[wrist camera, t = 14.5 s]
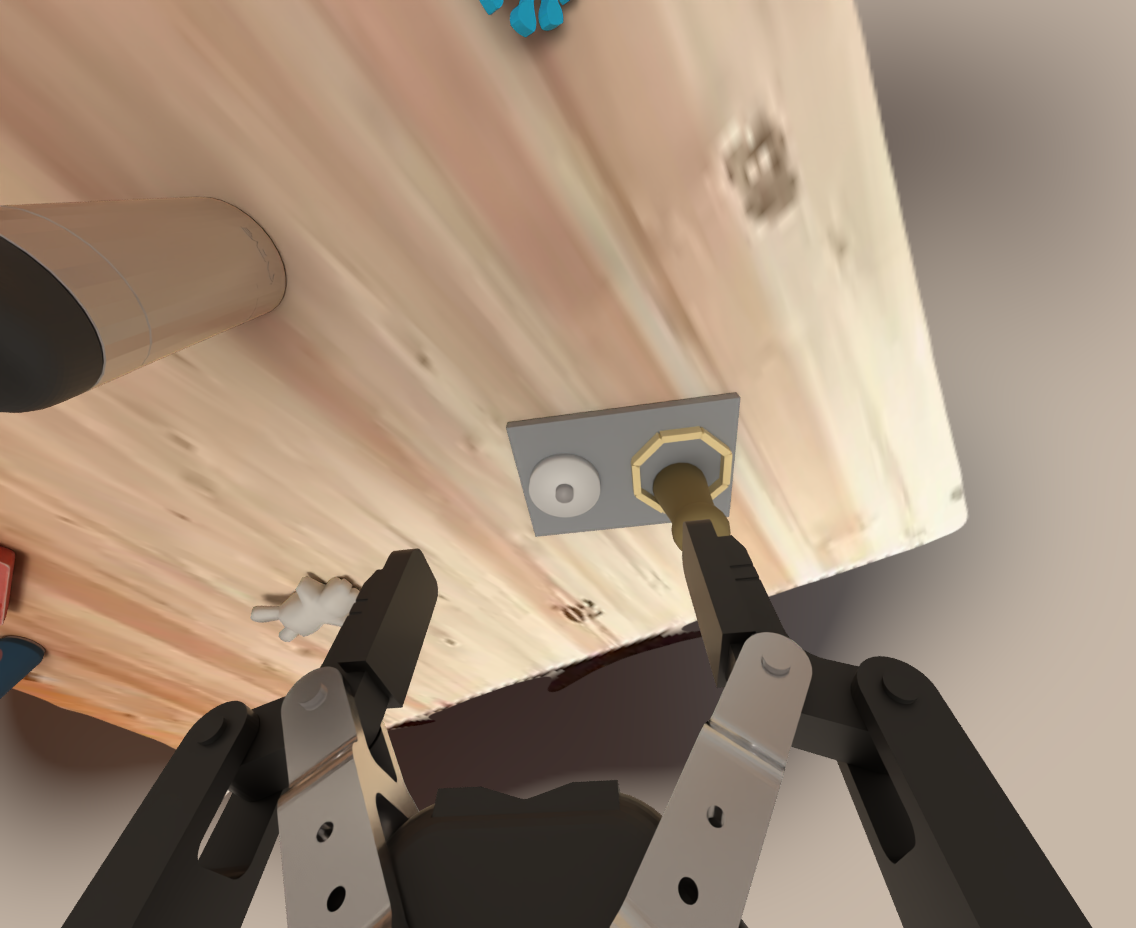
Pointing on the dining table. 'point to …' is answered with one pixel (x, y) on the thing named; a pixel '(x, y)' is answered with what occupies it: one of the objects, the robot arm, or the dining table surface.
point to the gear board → (621, 461)
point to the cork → (687, 499)
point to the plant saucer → (5, 579)
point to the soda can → (17, 660)
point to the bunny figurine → (310, 607)
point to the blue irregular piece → (530, 14)
